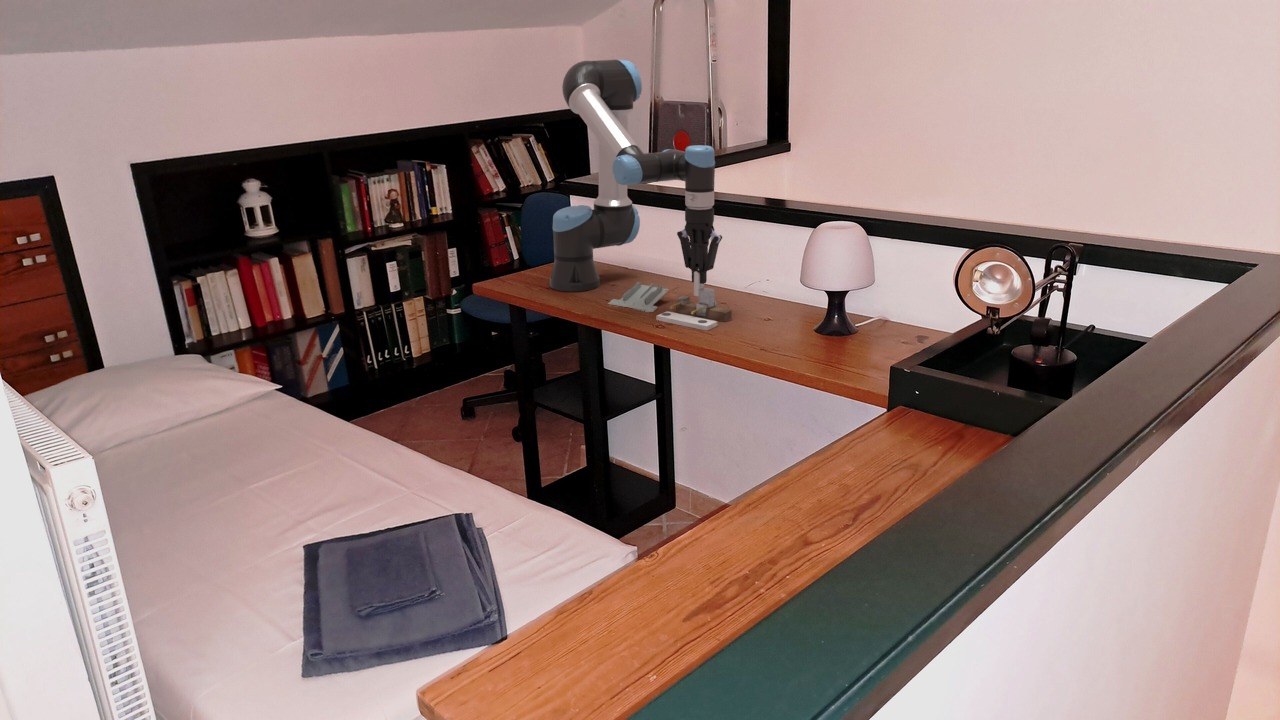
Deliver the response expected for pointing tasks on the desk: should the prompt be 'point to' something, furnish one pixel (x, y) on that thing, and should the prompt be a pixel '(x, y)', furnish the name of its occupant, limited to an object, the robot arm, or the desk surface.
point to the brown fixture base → (712, 312)
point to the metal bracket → (641, 297)
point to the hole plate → (686, 320)
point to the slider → (704, 301)
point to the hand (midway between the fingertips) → (698, 294)
